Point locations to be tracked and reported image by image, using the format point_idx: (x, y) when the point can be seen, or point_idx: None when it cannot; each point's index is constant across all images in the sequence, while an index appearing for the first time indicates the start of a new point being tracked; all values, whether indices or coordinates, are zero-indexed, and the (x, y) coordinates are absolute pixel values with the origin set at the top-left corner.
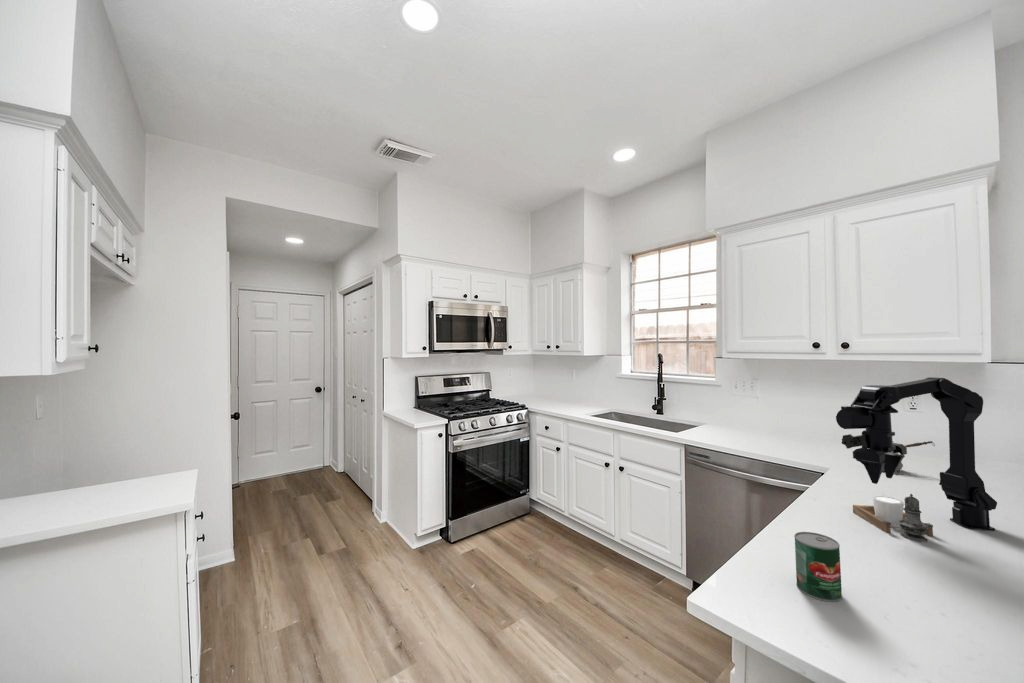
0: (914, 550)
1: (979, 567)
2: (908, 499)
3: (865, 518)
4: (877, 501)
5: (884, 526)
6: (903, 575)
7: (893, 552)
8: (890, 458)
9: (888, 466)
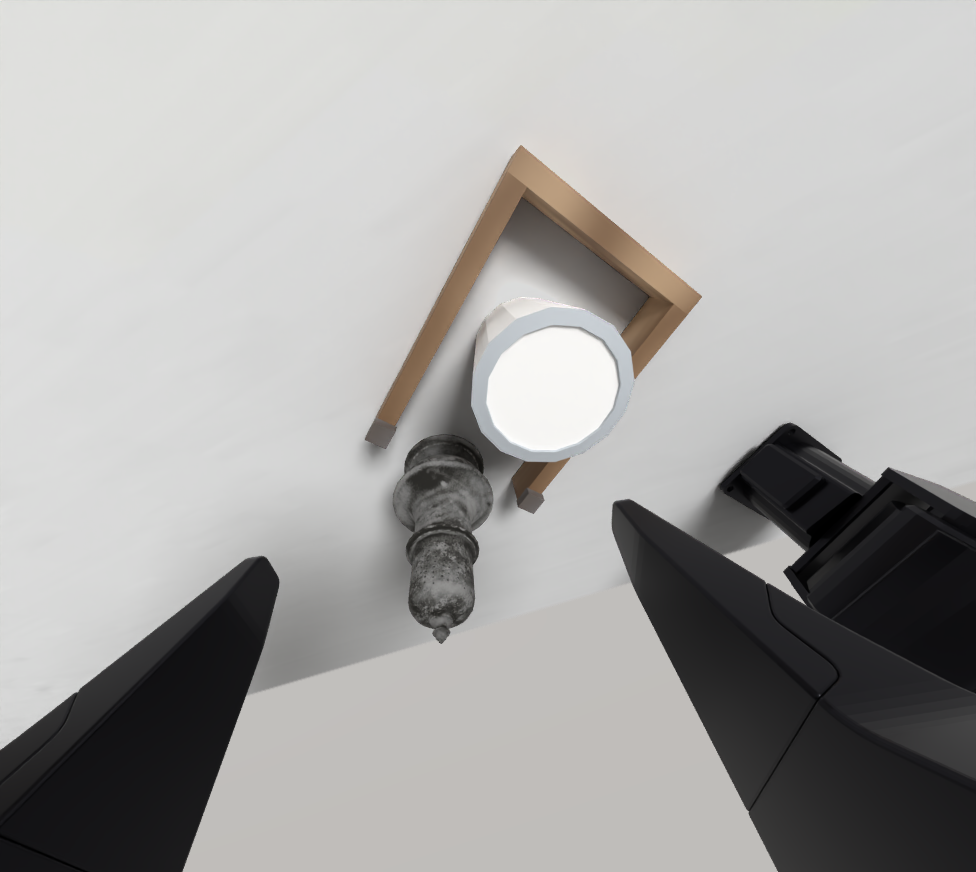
0: (319, 525)
1: (390, 613)
2: (410, 610)
3: (448, 279)
4: (473, 373)
5: (377, 416)
6: (103, 598)
7: (221, 516)
8: (846, 860)
9: (699, 648)
